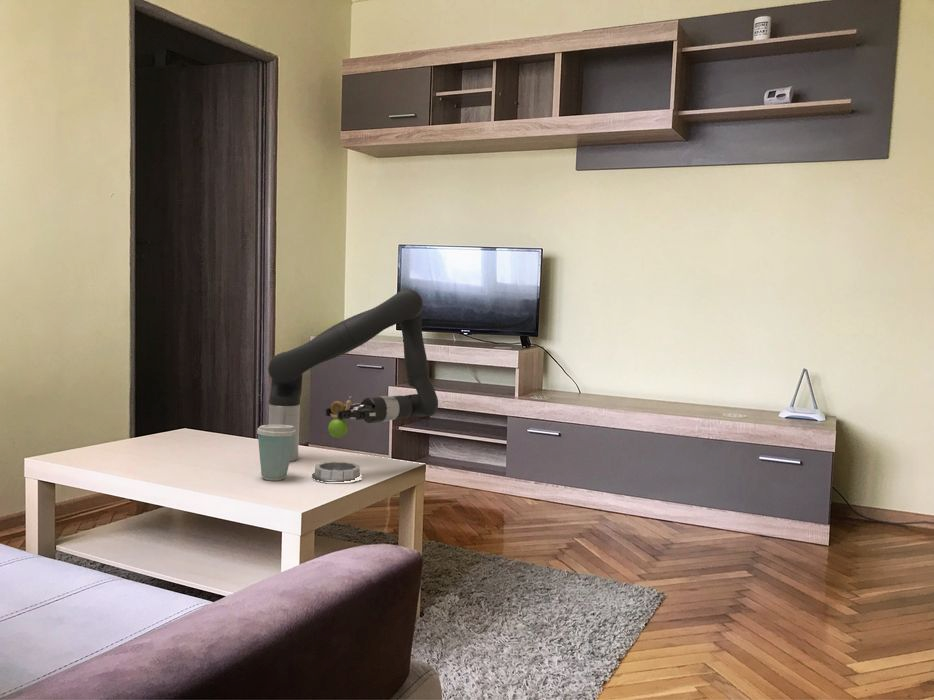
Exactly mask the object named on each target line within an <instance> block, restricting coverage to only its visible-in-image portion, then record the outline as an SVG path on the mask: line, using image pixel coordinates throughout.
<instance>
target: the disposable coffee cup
mask: <svg viewBox="0 0 934 700" xmlns="http://www.w3.org/2000/svg"><path fill="white" fill-rule="evenodd" d="M294 428H295V427H294V426H290V425H269V424H262V425H260V426H259V427H258V428H256V433H257V439H258V441H257V442H258V451H259V462H260V463H259V464H260V474H261V477H262V479H263V480H266V481H282V479H283V480H285V479H286V477H287V476H288V471H289V467H290V466H289V465H290V457H291V452H292V447H293V442H294V438H295V434H296V430H295V429H294ZM284 478H285V479H284Z"/></svg>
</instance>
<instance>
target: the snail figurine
mask: <svg viewBox="0 0 934 700" xmlns="http://www.w3.org/2000/svg"><path fill="white" fill-rule="evenodd" d="M351 399H352V395H351V396H349V397H348V399H347V401H346V402H345V403H343V402H342V401H341V400H340V401H339V400H334V401H333V402H332V403H331V404H330V407H329V408H330V409H331V412H332V413H333V414H330V415H331V416H330V417H331V418H332V420H331V421H330V422H329V424H328V427H327V430H328V433H329V435H330V436H331V437H333V438H335V439H339V438H343V437H344V436H345V435H346V434H347V432H348V430H349V429H348V423H347V422H346V420H345V419H338V418H337V412H338V411H344V410H349V409H350V405H351V404H352V400H351ZM344 404H346V409H345V405H344Z"/></svg>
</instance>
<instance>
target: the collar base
mask: <svg viewBox="0 0 934 700" xmlns="http://www.w3.org/2000/svg"><path fill="white" fill-rule="evenodd" d="M360 472H361V466H360V464H357V463H355V462H348V461H324V462H320V463H316V464H315V465H314V472H313V473H312V474H311V478H313V479H315V480H319V481H323V482H344V481H351V480H355V478H357V477H359V476H360ZM313 479H312V480H313Z"/></svg>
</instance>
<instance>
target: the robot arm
mask: <svg viewBox="0 0 934 700" xmlns="http://www.w3.org/2000/svg"><path fill="white" fill-rule="evenodd" d="M423 305H424V302H423V298H422V296H421V295H420V294H419V292H417V291H416V290H415V289H414V290H413V289H410V288H408V289H407V288H406V289H405V288H404V289H401V290H399V291H398V292H397V293H396V294H394V295H392V296H391V297H389V298H388V299H386V300H385V301H383V302H381V303H380V304H379V305H377V306H374V307H373V308H370V309H368V310H365V311H362V312H360V313H357V314H354V315H353V316H350V317H348V318H346V319H344V320H342V321H339V322H338V323H337V324H334V325H332V326H331V327H328V328H327V329H326V330H324V331H323V332H320V333H319V334H318V335H316V336H314V337H313V338H312V339H310V340H309V341H307V342H306V343H304V344H302V345H299V346H297V347H295V348H292V349H290V350H287V351H282V352H280V353H278V354H275V355H274V356H273V357H272V358H271V360H270V361H269V363H268V368H267V371H268V374H269V376H270V378H271V388H270V393H269V398H268V399H269V400H268V425H290V426H294V427H295V428H294V429H295V430H296V434H295V438H294V442H293V447H292V452H291V457H290V461H291V462H296V461H298V460H299V445H300V443H299V442H300V415H301V414H300V413H301V411H300V410H301V397H302V387H303V374H304V373H306V372H307V371H308V370H310V369H312V368H314V367H316V366H318V365H320V364H322V363H325V362H328V361H331V360H333V359H335V358H338V357H340V356H343V355H345V354H347V353H349V352H351V351H353V350H355V349H357V348H358V347H359V348H360V347H361V346H363V345H364V344H365V343H367V342H369V341H370V340H372V339H373V338H374V337H376V336H378V335H379V334H380V333H381V332H383V331H384V330H386V329H388V328H390V327H393V326H395V325H398V324H399V325H400V329H401V334H402V340H403V341H402V343H403V358H404V367H405V368H404V369H405V374H406V382H407V384H408V386H409V387H412V388H414V389H415V391H416V392H417V393H414V394H406V395H390V396H389V395H381V396H380V395H379V396H370V397H369V396H368V397H365V398H364V399H363V400H362V401H361V403H359V402H358V403H353V404H352V403H351V405H350V409H349V410H344V411H338V412H337V418H338V419H343V420H345V419H346V420H347V419H350V420H357V421H359V420H363V421H364V423H367V424H373V423H374V424H375V423H383V422H389V421H394V420H401V419H406V418H410V417H411V418H412V417H431V416H432V417H433V416H434V415H435V414H436V413H437V412H438V408H439V399H438V396H437V392H436V390H435V388H434V385H433V383H432V381H431V379H430V371H429V362H428V357H427V353H426V348H425V343H424V338H423V327H422V316H423V315H422V314H423V313H422V312H423V307H424V306H423ZM343 404H344V405H345V409H346V403H343ZM330 408H331V407H326V408H325V416H326V417H331V415H330V414H333V413H332V412H331V409H330ZM297 459H298V460H297ZM295 460H296V461H295Z"/></svg>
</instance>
